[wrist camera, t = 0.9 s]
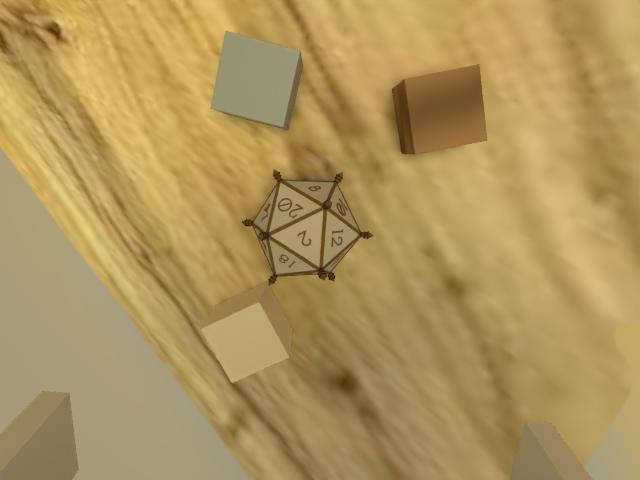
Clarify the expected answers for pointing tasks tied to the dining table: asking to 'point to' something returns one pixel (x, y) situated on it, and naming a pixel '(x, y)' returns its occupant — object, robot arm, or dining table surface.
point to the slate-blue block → (257, 80)
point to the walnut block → (440, 110)
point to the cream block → (248, 332)
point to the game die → (305, 227)
